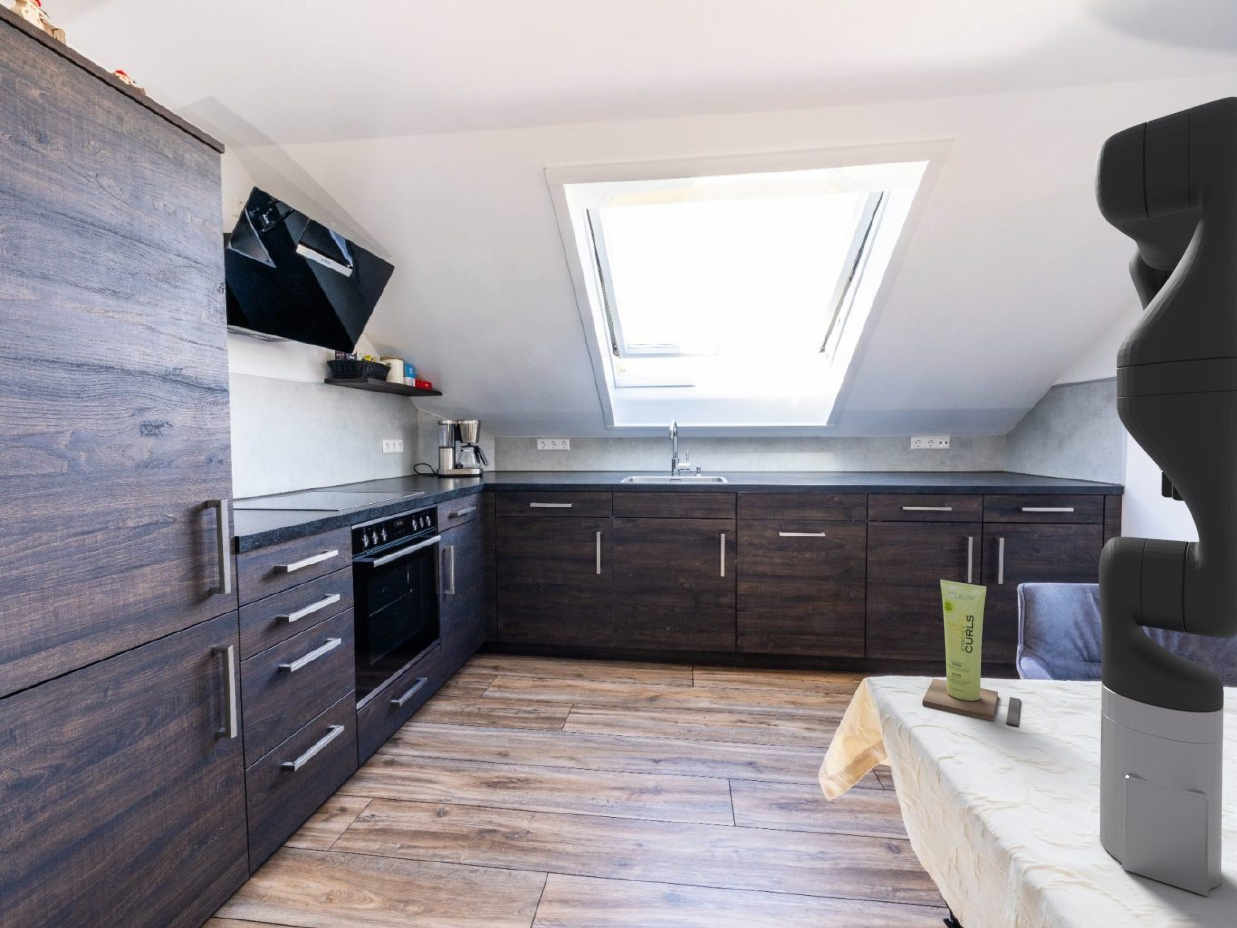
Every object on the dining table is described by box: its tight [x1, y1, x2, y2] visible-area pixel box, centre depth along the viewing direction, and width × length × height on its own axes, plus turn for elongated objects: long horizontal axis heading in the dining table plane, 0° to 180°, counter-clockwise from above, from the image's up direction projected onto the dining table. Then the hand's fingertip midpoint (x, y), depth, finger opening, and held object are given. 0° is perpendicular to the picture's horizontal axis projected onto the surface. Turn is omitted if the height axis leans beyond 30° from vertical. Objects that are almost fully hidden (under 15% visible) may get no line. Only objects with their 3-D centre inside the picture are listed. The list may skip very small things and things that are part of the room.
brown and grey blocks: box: [922, 678, 1021, 728], centre depth 98 cm, size 12×13×1 cm
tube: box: [939, 579, 987, 701], centre depth 99 cm, size 6×5×20 cm
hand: (1177, 499), depth 79 cm, fingers open, 8 cm apart
